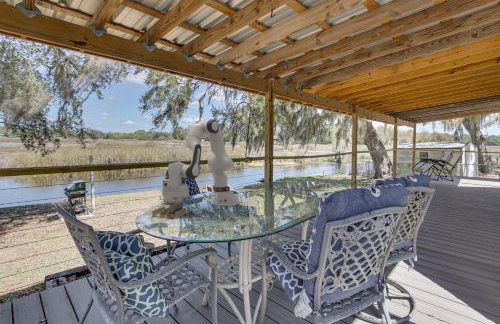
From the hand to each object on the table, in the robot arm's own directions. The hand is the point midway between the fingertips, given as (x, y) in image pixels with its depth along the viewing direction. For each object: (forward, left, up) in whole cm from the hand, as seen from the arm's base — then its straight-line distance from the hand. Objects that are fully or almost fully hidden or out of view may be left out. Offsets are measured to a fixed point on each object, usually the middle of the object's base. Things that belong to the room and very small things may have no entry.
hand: (176, 202), depth 201 cm
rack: (+6, 0, -9) cm, 11 cm away
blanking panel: (0, 0, -8) cm, 8 cm away
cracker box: (+22, -30, -10) cm, 38 cm away
